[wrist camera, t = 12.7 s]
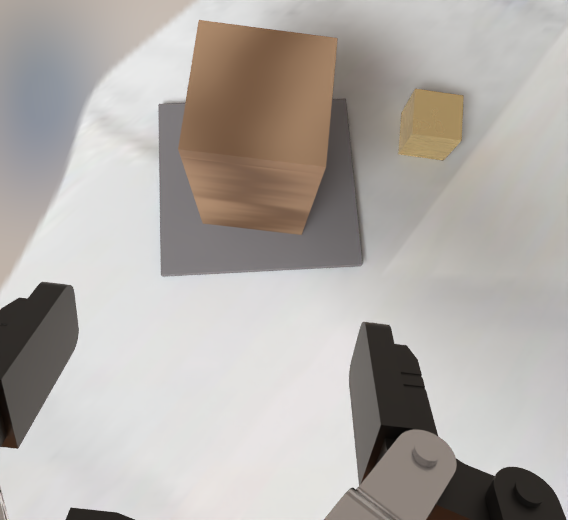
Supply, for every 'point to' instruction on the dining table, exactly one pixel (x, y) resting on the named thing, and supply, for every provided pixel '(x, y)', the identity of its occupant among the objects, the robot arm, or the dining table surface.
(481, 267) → the dining table surface
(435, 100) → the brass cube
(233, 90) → the brown wooden block
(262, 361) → the dining table surface
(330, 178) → the charcoal mat
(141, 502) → the dining table surface
